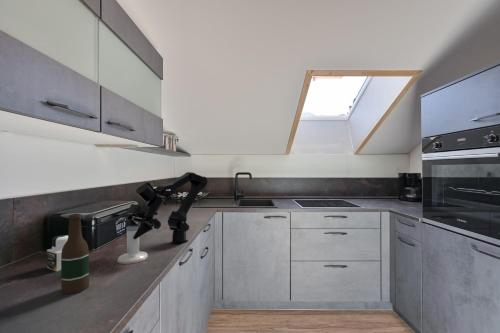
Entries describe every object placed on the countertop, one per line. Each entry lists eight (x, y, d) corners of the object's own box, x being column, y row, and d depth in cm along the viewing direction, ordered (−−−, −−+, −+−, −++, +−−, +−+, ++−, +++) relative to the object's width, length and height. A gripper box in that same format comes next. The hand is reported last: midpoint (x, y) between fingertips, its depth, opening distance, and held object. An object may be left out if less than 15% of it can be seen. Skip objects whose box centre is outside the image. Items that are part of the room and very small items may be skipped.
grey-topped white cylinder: (131, 250, 109) (130, 225, 108) (141, 250, 108) (141, 225, 108) (124, 254, 104) (124, 228, 104) (135, 254, 103) (135, 228, 103)
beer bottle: (67, 297, 75) (66, 217, 74) (55, 291, 79) (55, 215, 79) (94, 287, 81) (94, 213, 81) (82, 281, 85) (82, 211, 85)
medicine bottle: (46, 268, 96) (46, 237, 96) (67, 261, 103) (66, 232, 103) (56, 271, 93) (55, 239, 93) (76, 265, 99) (76, 235, 99)
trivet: (135, 251, 114) (135, 249, 114) (154, 256, 109) (154, 253, 109) (110, 261, 103) (110, 258, 103) (130, 266, 98) (130, 263, 98)
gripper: (127, 195, 114) (103, 224, 104) (155, 198, 104) (131, 230, 95) (143, 209, 121) (121, 238, 111) (170, 213, 111) (149, 245, 102)
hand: (130, 237), depth 105 cm, fingers closed on grey-topped white cylinder, 5 cm apart
